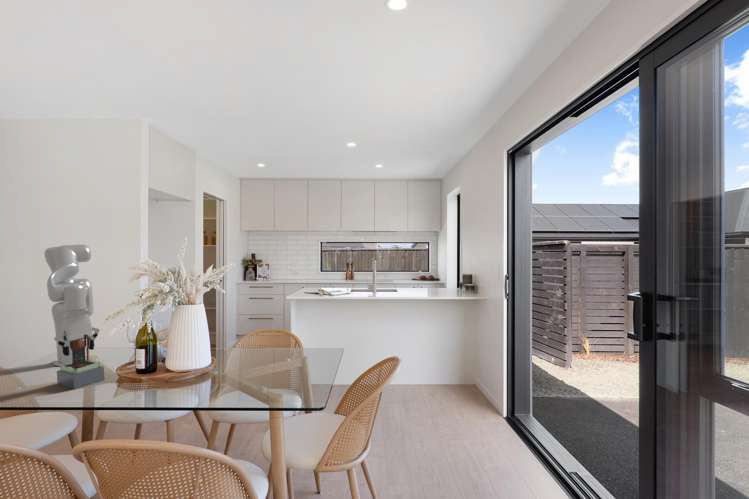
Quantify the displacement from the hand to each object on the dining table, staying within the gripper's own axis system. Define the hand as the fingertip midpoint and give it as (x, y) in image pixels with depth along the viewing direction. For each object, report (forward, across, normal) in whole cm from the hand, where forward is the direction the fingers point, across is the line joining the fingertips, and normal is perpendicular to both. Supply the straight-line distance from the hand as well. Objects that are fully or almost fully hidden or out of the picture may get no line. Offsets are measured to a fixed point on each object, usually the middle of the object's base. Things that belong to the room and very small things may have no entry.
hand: (79, 352), depth 183 cm
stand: (+13, 0, 0) cm, 13 cm away
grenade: (+7, 0, 0) cm, 7 cm away
